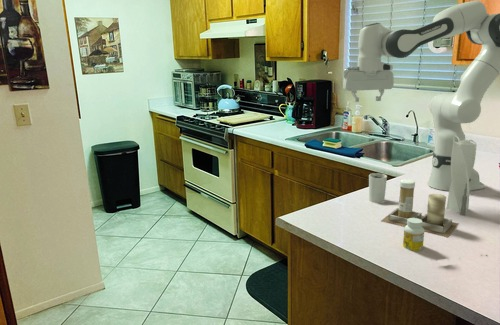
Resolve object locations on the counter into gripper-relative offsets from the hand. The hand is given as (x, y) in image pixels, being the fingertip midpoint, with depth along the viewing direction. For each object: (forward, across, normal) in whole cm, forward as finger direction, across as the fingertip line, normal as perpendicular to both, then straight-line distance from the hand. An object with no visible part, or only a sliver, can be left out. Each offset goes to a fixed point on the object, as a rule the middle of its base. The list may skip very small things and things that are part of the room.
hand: (367, 101), depth 163 cm
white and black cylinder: (+37, -1, -15) cm, 40 cm away
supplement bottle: (+37, -10, -57) cm, 69 cm away
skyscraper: (+37, +20, -34) cm, 54 cm away
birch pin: (+36, +4, -45) cm, 57 cm away
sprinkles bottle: (+36, -2, -38) cm, 52 cm away
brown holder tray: (+37, +1, -41) cm, 56 cm away
